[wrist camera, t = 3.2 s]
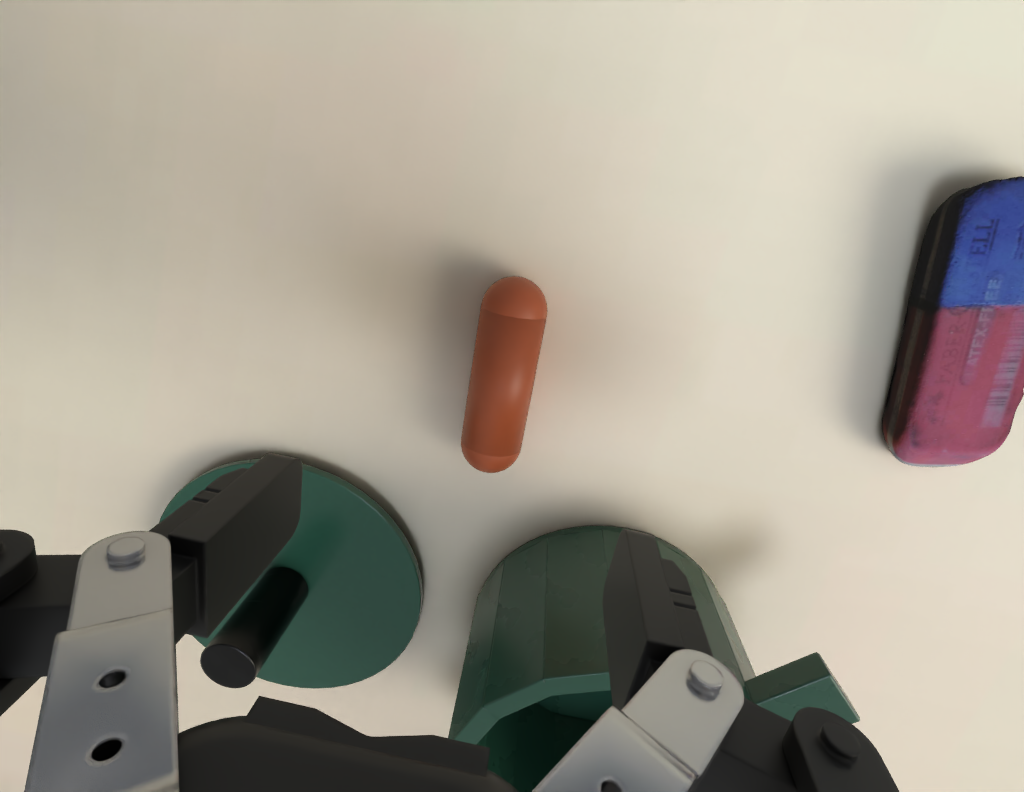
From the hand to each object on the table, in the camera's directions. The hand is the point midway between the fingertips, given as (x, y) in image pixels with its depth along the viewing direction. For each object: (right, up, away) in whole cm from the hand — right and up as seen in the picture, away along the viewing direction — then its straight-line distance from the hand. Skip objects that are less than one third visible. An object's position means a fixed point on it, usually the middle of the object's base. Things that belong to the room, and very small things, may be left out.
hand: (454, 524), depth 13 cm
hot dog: (+1, +4, +10) cm, 11 cm away
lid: (-10, -6, +14) cm, 18 cm away
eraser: (+19, +6, +8) cm, 21 cm away
